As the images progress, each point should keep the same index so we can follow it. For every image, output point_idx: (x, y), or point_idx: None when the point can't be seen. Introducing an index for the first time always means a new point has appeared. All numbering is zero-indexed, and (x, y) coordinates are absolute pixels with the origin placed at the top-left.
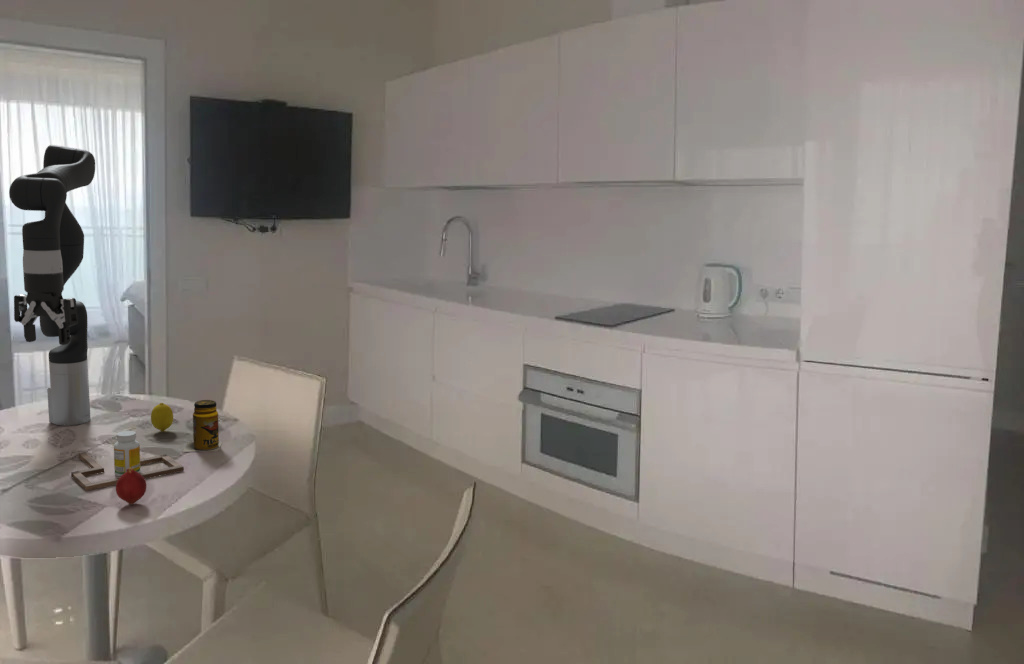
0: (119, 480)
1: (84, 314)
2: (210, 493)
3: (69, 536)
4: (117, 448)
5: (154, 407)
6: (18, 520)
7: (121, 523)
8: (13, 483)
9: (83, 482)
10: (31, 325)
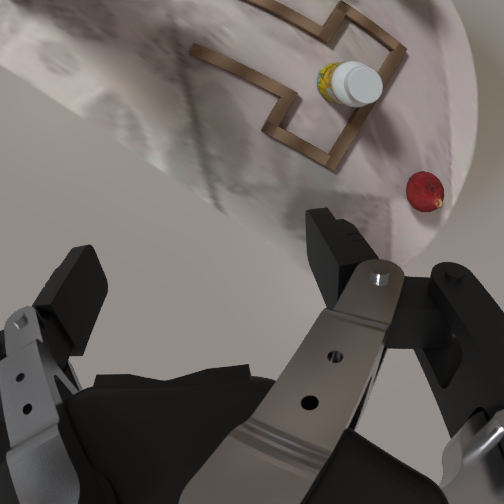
0: (423, 210)
1: None
2: (470, 122)
3: None
4: (353, 106)
5: None
6: None
7: (427, 230)
8: (204, 192)
9: (317, 159)
10: (66, 329)
